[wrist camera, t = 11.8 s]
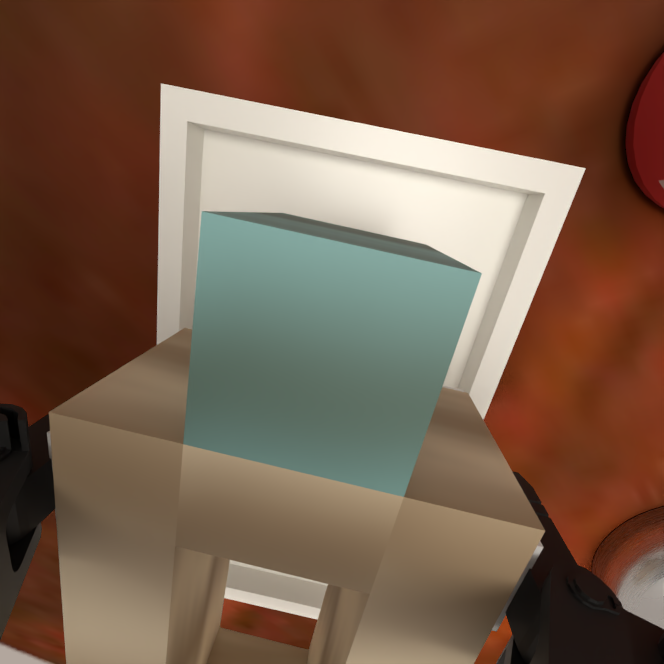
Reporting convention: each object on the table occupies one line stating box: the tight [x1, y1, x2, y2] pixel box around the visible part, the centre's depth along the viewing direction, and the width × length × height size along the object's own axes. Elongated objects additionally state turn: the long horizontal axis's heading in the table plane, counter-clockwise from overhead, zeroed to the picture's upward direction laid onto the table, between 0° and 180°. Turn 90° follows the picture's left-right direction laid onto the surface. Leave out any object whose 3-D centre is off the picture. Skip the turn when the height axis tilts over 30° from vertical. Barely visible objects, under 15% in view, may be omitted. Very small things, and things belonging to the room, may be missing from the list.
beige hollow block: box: [49, 211, 545, 664], centre depth 11 cm, size 20×9×5 cm, turn 168°
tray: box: [157, 84, 586, 619], centre depth 18 cm, size 15×26×2 cm, turn 169°
